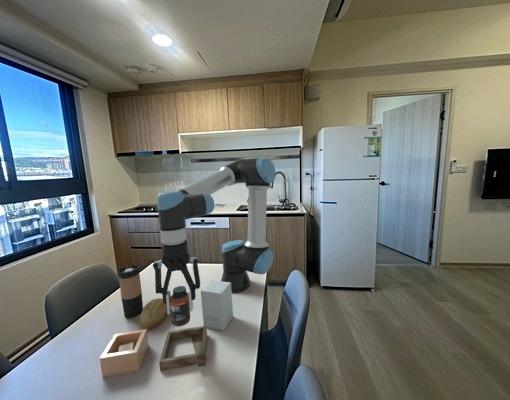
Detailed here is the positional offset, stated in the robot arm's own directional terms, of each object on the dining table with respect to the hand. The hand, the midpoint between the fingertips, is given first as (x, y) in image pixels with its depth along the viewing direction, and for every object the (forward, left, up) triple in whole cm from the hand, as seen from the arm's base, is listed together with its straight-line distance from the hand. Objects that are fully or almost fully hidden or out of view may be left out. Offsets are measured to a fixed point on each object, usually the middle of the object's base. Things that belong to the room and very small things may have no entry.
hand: (180, 310), depth 73 cm
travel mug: (+25, -27, -15) cm, 39 cm away
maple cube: (+18, 0, -14) cm, 22 cm away
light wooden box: (+18, 0, -15) cm, 23 cm away
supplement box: (-11, -13, -15) cm, 23 cm away
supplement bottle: (0, 0, -4) cm, 4 cm away
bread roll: (+14, -20, -15) cm, 28 cm away
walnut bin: (0, 0, -15) cm, 15 cm away
